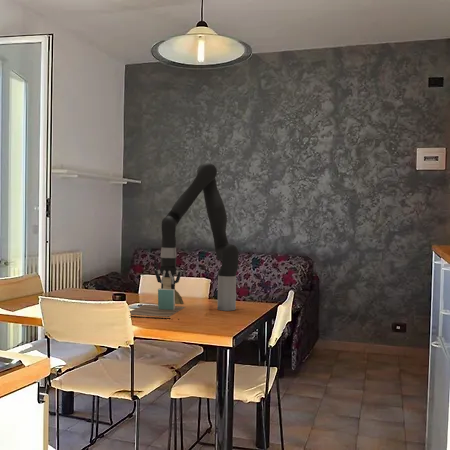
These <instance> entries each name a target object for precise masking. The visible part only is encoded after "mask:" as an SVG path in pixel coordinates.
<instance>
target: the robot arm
mask: <svg viewBox="0 0 450 450" xmlns="http://www.w3.org/2000/svg"><path fill="white" fill-rule="evenodd" d="M217 175H218V169H217V167H216V166H215V164H213V163H211V162H203V163H201V164H200V165H198V167H197V171H196V176H195V178H194V179H193V181H192V183H191V184H190V185H189V186H188V187H187V188H186V190H185V191H183V193H181V195H180V196H179V197H178V199H177V200H176V202H175V204H173V206H172V207H171V209H170V211H169V212H168V213H167V214H166V215H165V217H164V218H163V219H162V221H161V250H160V268H159V269H156V270H154V274H155V277H156V281H157V282H158V283H160V284H161V285H160V288H161V289H163V277H170V278H171V283H172V284H171V289H175V290H176V284H178V283H179V282H180V279H181V276H182V274H183V272H182V270H181V271H180V270H178V269H177V244H176V243H177V240H176V229H177V225H178V224H179V222H180V221H181V219H182V218H183V217H184V216H185V214H186V213H187V212H188V211H189V209H190V208H191V206H192V205H193V204H194V202H195V201H196V199H198V196H199V195H200V194H201V193H202V192H203V198H204V203H205V209H206V213H207V217H208V222H209V225H210V229H211V230H210V231H211V234H212V238H213V243H214V251H215V255H216V258H217V259H218V260H219V261H220V262H221V267H220V269H218V270H217V310H218V311H222V312H224V311H225V312H227V311H229V312H230V311H235V310H236V309H237V307H236V304H237V303H236V302H237V298H236V297H237V296H236V295H237V292H236V291H237V272H238V271H239V270H238V269H239V257H240V256H239V249H238V247H237V246H236V245H235V244H231V243H229V241H228V237H227V233H226V231H227V224H228V223H227V222H228V216H227V211H226V206H225V204H224V201H223V199H222V197H221V194H220V192H219V188H218V185H217V180H216V177H217ZM160 274H161V275H162V276H161V275H160ZM175 274H176V278H175Z"/></svg>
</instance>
